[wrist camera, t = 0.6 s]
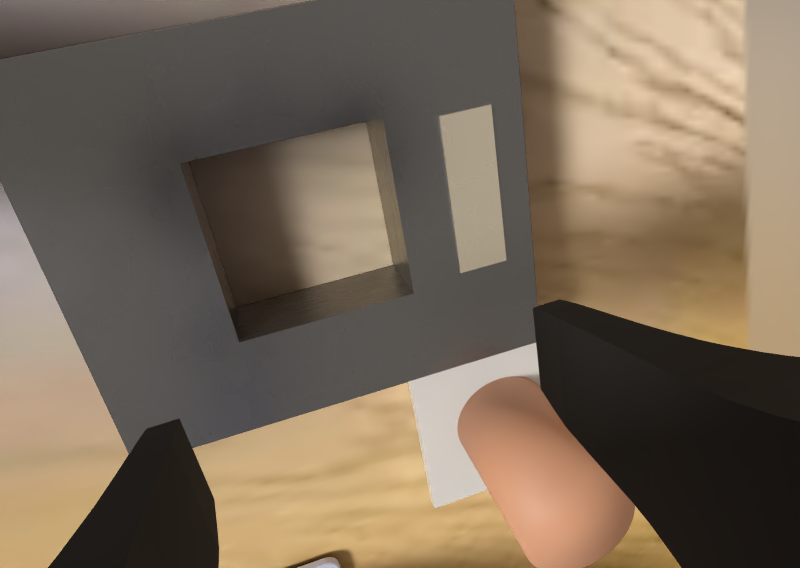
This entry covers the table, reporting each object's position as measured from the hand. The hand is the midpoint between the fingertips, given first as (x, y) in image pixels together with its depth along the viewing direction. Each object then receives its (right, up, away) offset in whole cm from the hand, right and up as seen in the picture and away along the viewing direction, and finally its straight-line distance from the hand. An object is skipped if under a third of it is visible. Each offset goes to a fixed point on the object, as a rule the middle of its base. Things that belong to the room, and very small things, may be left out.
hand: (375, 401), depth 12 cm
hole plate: (-3, +5, +8) cm, 10 cm away
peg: (+5, -3, +13) cm, 14 cm away
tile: (+5, -3, +14) cm, 15 cm away
